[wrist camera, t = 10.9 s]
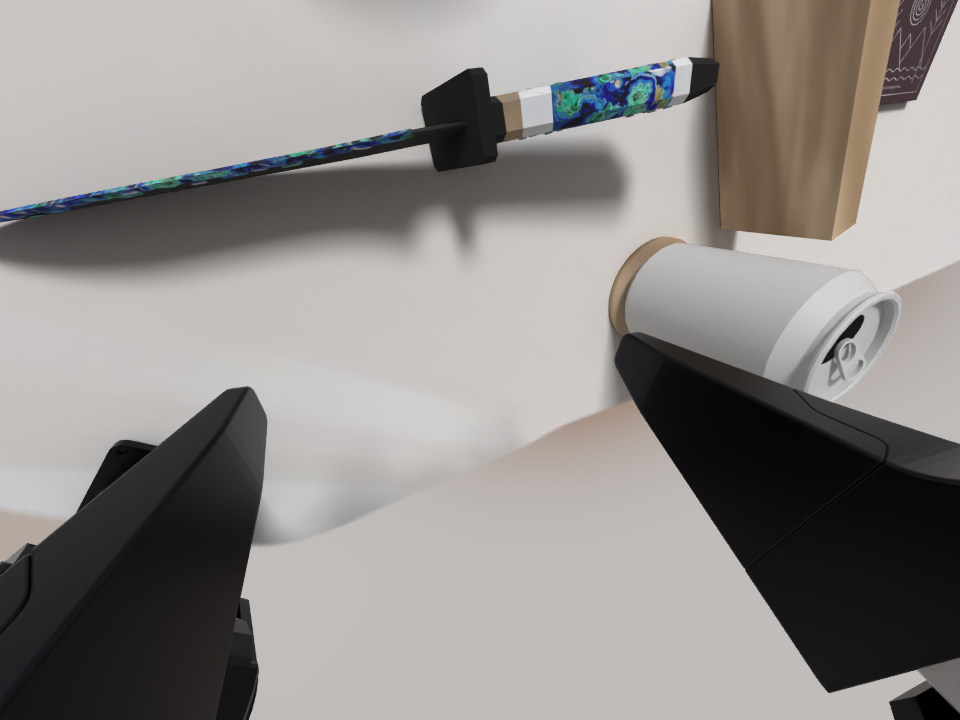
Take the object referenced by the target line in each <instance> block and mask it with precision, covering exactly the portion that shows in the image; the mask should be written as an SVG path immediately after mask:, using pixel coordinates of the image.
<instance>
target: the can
mask: <svg viewBox="0 0 960 720" xmlns="http://www.w3.org/2000/svg"><path fill="white" fill-rule="evenodd" d="M901 312H902V302H901V298H900V297H899V296H898V295H897V294H896V293H895V292H894V291H884V292H878V291H877V289H876V288H875V286H874V285H873V283H872V282H871V280H870V279H869V278H868V277H867V276H866V275H865V274H864V273H863V272H862V271H859V270H852V269H846V268H840V267H833V266H827V265H821V264H814V263H808V262H802V261H795V260H789V259H783V258H776V257H770V256H764V255H758V254H751V253H745V252H739V251H732V250H726V249H720V248H713V247H707V246H701V245H694V244H688V243H674V244H672V245H669V246H667V247H664V248H662V249H661V250H659V251H658V252H657V253H656V254H654V255H653V256H652V257H650V258H649V259H648V261H647V262H646V263H644V264H643V265H642V266H641V268H640V269H639V270H638V271H637V273H636V274H635V275H634V277H633V279H632V281H631V283H630V285H629V287H628V291H627V294H626V298H625V321H626V324H627V327H628V330H629V332H630V333H632V332H642V333H645V334H647V335H650V336H653V337H656V338H658V339H661V340H664V341H666V342H669V343H672V344H675V345H677V346H680V347H683V348H685V349H688V350H691V351H694V352H696V353H699V354H702V355H705V356H707V357H710V358H713V359H715V360H718V361H721V362H724V363H726V364H729V365H732V366H734V367H737V368H740V369H743V370H745V371H748V372H751V373H754V374H756V375H759V376H762V377H764V378H767V379H770V380H773V381H775V382H778V383H781V384H783V385H786V386H789V387H790V388H791V389H793V388H794V389H797V390H800V391H803V392H805V393H808V394H811V395H814V396H816V397H819V398H822V399H825V400H828V401H831V402H833V403H835V402H836V401H838V400H840V399H841V398H842V397H843V396H844V395H846V394H847V393H848V392H849V391H850V390H852V389H853V388H854V387H855V386H856V384H858V383H859V382H860V380H861V379H862V378H863V377H864V376H865V375H866V374H867V373H868V372H869V370H870V369H871V368H872V366H873V365H874V364H875V363H876V361H877V360H878V359H879V357H880V356H881V354H882V353H883V351H884V350H885V348H886V346H887V345H888V343H889V342H890V340H891V338H892V336H893V334H894V332H895V330H896V328H897V325H898V322H899V319H900V315H901Z"/></svg>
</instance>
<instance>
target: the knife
mask: <svg viewBox="0 0 960 720" xmlns="http://www.w3.org/2000/svg"><path fill="white" fill-rule="evenodd" d="M719 66H720V63H718V62H717V61H715V60H714V59H712V58H693V57H687V58H682V59H677V60H676V59H673V60H669V61H667V62H662V63H657V64H654V63H653V64H648V65H646V66H642V67H637V68H632V69H627V70H622V71H617V72H612V73H607V74H602V75H597V76H593V77H588V78H583V79H578V80H573V81H568V82H563V83H562V82H559V83H555V84H553V85H548V86H543V87H538V88H530V89H526V90H524V91H519V92H514V93H509V94H504V95H499V96H492V97H490V92H489V84H488V77H487V73H486V72H485V70H484V69H483V68H472V69H467V70H465V71H463V72H462V73H460V74H458V75H457V76H455V77H453V78H452V79H450V80H448V81H447V82H445V83H443V84H442V85H440V86H438V87H437V88H435V89H433V90H432V91H430V92H428V93H427V94H425V95H423V96H422V100H421V106H422V110H423V115H424V119H425V124H426V127H425V128H419V129H414V130H411V129H407V130H402V131H398V132H393V133H389V134H384V135H380V136H375V137H371V138H366V139H362V140H357V141H353V142H348V143H343V144H339V145H334V146H330V147H325V148H320V149H315V150H310V151H305V152H300V153H294V154H289V155H284V156H279V157H274V158H269V159H264V160H259V161H254V162H249V163H243V164H238V165H233V166H228V167H223V168H218V169H213V170H207V171H202V172H197V173H192V174H187V175H182V176H176V177H171V178H166V179H161V180H155V181H150V182H145V183H140V184H134V185H129V186H124V187H119V188H113V189H109V190H103V191H98V192H93V193H88V194H83V195H78V196H73V197H68V198H63V199H58V200H53V201H48V202H43V203H38V204H33V205H29V206H24V207H19V208H14V209H10V210H5V211H0V222H6V221H12V220H19V219H28V218H34V217H39V216H44V215H48V214H53V213H58V212H64V211H69V210H75V209H80V208H86V207H91V206H96V205H102V204H107V203H113V202H119V201H124V200H130V199H135V198H141V197H146V196H152V195H157V194H163V193H168V192H174V191H179V190H185V189H190V188H196V187H201V186H207V185H212V184H218V183H223V182H229V181H234V180H240V179H245V178H251V177H256V176H262V175H267V174H272V173H278V172H283V171H289V170H294V169H300V168H305V167H310V166H316V165H321V164H327V163H332V162H337V161H343V160H348V159H354V158H359V157H364V156H369V155H373V154H378V153H383V152H388V151H393V150H397V149H402V148H407V147H412V146H417V145H422V144H427V143H430V147H431V151H432V156H433V160H434V165H435V168H436V169H437V171H438V172H440V171H446V170H452V169H458V168H464V167H470V166H476V165H482V164H486V163H491V162H495V161H496V158H497V155H498V152H497V143H501V142H506V141H511V140H515V139H519V140H522V139H526V138H527V137H533V136H536V135H539V134H545V135H546V134H550V133H552V132H553V131H561V130H564V129H567V128H572V127H577V126H582V125H586V124H591V123H596V122H600V121H605V120H610V119H615V118H619V117H624V116H626V118H627V117H631V116H634V114H638V113H646V112H647V113H650V112H654V111H656V109H661V108H663V109H666V108H669V107H672V106H674V105H678V104H682V103H685V102H687V101H689V100H691V99H693V98H696V97H698V96H700V95H702V94H704V93H706V92H708V91H709V90H710V89H711V88H712V87H713V86H714V85H715V84H716V83H717V80H718V73H719Z"/></svg>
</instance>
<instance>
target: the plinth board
mask: <svg viewBox="0 0 960 720" xmlns="http://www.w3.org/2000/svg"><path fill="white" fill-rule="evenodd" d="M899 4H900V0H712V7H713V33H714V59H715V61H717V62H718V63H720V66H719V73H718V80H717V83H716V84H715V85H716V111H717V137H718V164H719V190H720V216H721V229H727V230H736V231H745V232H755V233H764V234H773V235H783V236H792V237H801V238H811V239H820V240H829V241H832V240H833V239H835V238H836V237H837V236H839V235H840V234H841V233H843V232H844V231H845V230H847V229H848V228H850V227H851V226H852V225H854V224H855V223H856V218H857V213H858V208H859V203H860V198H861V193H862V188H863V183H864V178H865V173H866V168H867V163H868V158H869V153H870V148H871V143H872V138H873V133H874V128H875V123H876V118H877V113H878V108H879V103H880V98H881V93H882V88H883V83H884V78H885V73H886V68H887V63H888V58H889V53H890V48H891V43H892V38H893V33H894V28H895V23H896V18H897V13H898V8H899Z"/></svg>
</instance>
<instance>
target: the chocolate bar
mask: <svg viewBox="0 0 960 720" xmlns="http://www.w3.org/2000/svg"><path fill="white" fill-rule="evenodd" d="M957 1H958V0H900V4H899V8H898V13H897V18H896V23H895V28H894V33H893V38H892V43H891V48H890V53H889V58H888V63H887V68H886V73H885V78H884V83H883V88H882V93H881V98H880V103H879V105H881V104H889V103H897V102H905V101H912V100H916V99H917V97H918V94H919V92H920V90H921V87H922V85H923V83H924V80H925V78H926V75H927V73H928V71H929V68H930V66H931V63H932V61H933V59H934V56H935V54H936V51H937V49H938V47H939V44H940V42H941V40H942V37H943V35H944V32H945V30H946V28H947V25H948V23H949V20H950V18H951V16H952V13H953V11H954V8H955V6H956V4H957Z"/></svg>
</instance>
